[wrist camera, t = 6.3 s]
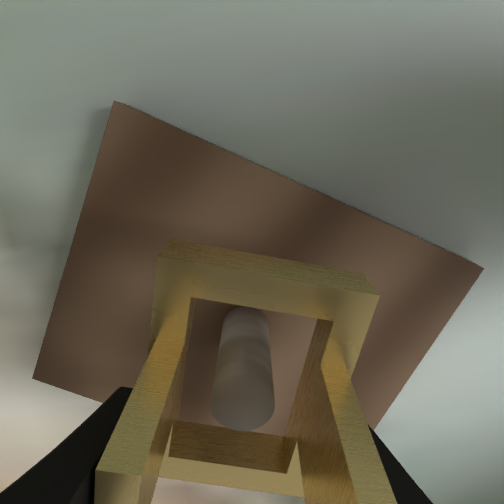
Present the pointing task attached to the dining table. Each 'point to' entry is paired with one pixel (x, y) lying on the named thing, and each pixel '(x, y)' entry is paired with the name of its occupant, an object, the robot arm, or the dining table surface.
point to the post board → (224, 314)
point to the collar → (247, 442)
